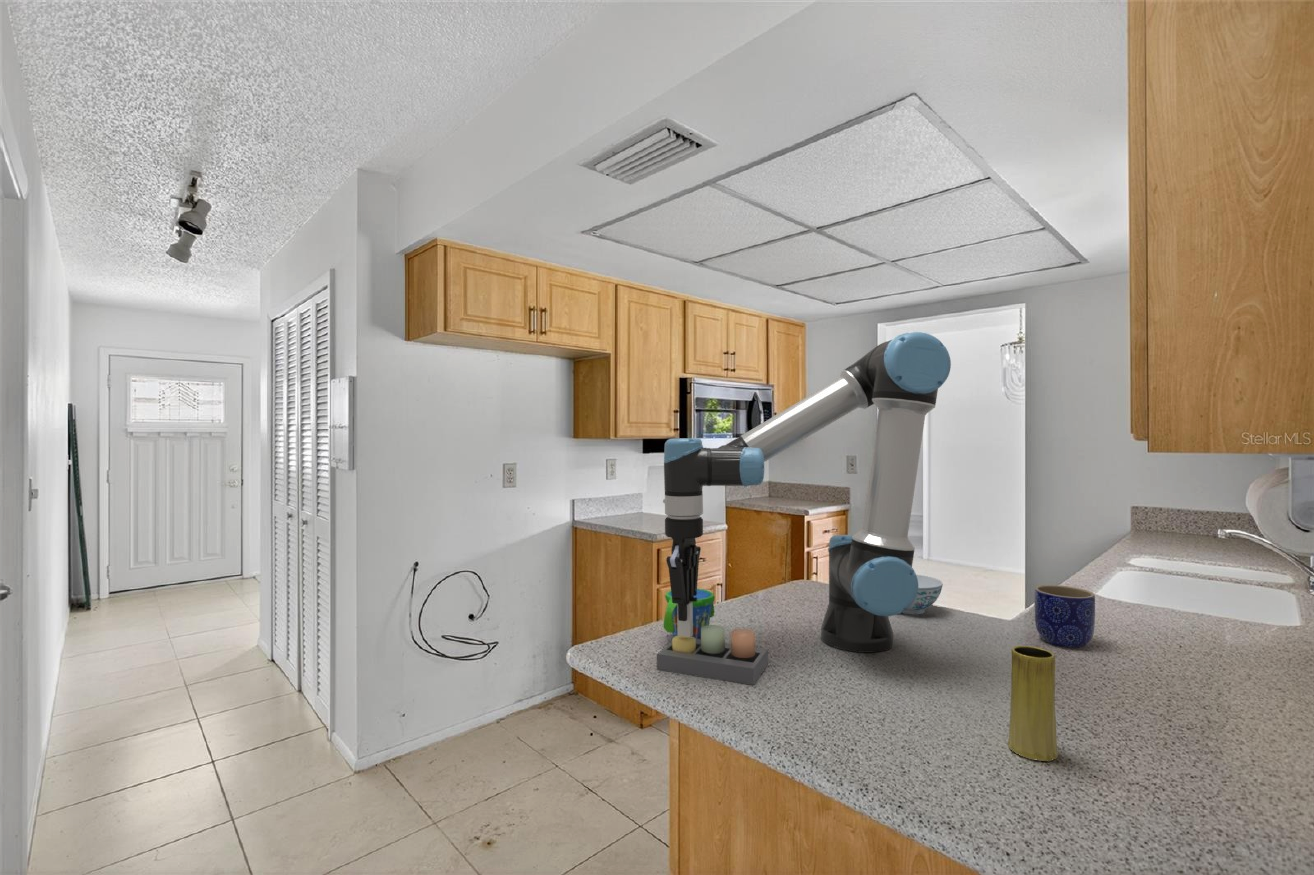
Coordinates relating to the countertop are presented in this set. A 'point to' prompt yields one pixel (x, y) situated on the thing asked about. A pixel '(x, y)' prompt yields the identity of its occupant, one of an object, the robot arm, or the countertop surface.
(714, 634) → the button sage
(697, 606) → the snack cup
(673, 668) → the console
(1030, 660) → the vase
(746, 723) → the countertop surface
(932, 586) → the chinaware
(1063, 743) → the countertop surface
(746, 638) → the button terracotta
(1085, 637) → the planter
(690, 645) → the button mustard
